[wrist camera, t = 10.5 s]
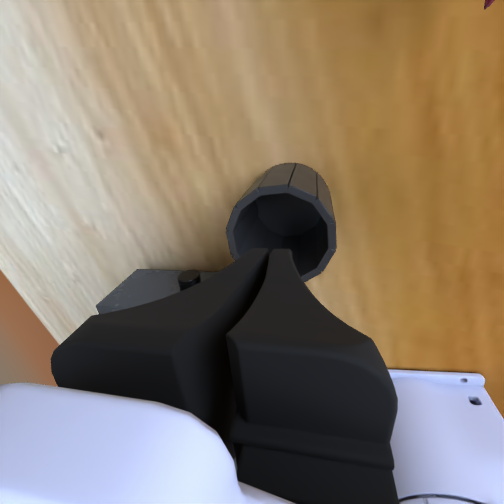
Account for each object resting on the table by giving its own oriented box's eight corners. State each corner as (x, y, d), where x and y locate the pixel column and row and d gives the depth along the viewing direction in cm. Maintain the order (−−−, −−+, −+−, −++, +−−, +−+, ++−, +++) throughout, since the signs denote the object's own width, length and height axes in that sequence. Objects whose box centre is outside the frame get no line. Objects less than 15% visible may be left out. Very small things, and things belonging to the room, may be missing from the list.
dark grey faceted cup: (327, 157, 18) (334, 178, 12) (331, 235, 20) (337, 284, 14) (246, 168, 19) (216, 192, 13) (258, 240, 21) (237, 287, 15)
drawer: (133, 256, 23) (89, 291, 19) (278, 260, 21) (267, 302, 16) (169, 377, 30) (142, 425, 25) (283, 391, 27) (276, 448, 22)
